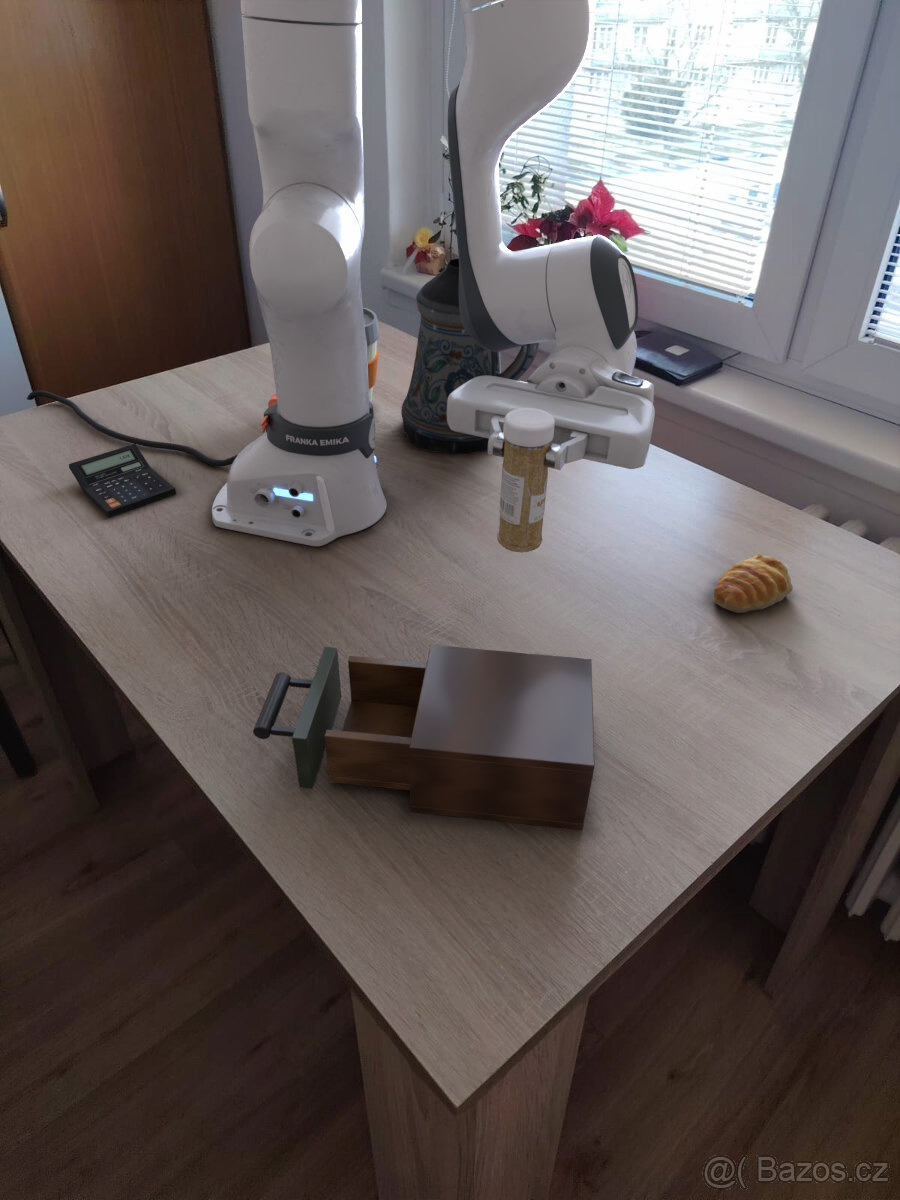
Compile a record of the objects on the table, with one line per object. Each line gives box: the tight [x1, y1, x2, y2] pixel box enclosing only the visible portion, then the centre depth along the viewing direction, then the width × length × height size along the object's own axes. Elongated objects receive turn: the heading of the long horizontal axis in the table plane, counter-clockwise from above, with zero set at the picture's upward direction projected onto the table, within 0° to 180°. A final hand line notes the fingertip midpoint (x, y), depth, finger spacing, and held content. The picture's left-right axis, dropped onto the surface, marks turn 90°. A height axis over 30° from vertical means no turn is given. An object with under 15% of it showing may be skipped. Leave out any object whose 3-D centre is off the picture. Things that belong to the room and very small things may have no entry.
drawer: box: [252, 646, 427, 791], centre depth 73 cm, size 18×11×6 cm, turn 83°
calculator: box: [68, 443, 177, 518], centre depth 111 cm, size 9×12×3 cm
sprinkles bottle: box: [496, 408, 555, 553], centre depth 78 cm, size 5×5×13 cm
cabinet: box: [409, 644, 596, 831], centre depth 72 cm, size 15×13×8 cm
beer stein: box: [400, 258, 541, 455], centre depth 120 cm, size 16×19×25 cm
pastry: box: [713, 554, 794, 614], centre depth 94 cm, size 9×7×4 cm
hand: (523, 455), depth 75 cm, fingers closed on sprinkles bottle, 4 cm apart
